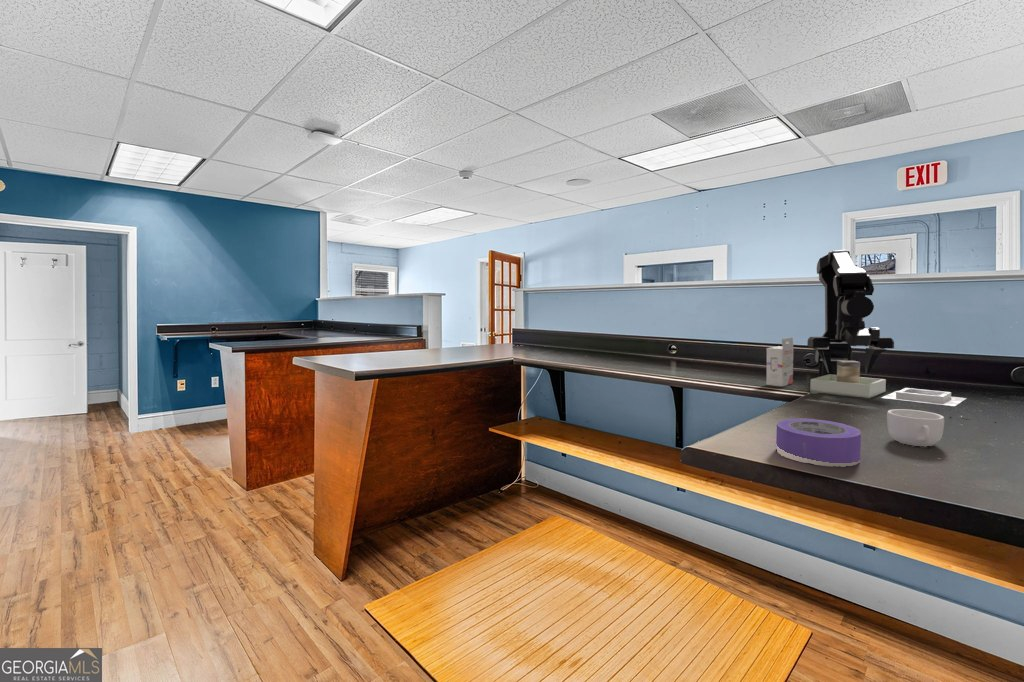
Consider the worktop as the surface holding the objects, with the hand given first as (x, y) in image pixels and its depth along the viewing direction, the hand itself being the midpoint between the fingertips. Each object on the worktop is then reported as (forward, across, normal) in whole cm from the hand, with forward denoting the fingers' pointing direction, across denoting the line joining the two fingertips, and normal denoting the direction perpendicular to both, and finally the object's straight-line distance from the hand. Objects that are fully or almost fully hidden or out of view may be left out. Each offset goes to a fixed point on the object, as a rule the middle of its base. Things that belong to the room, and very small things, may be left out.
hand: (848, 373), depth 128 cm
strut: (+5, 0, 0) cm, 5 cm away
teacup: (+6, -7, -52) cm, 52 cm away
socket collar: (+6, +14, -6) cm, 17 cm away
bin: (+6, 0, 0) cm, 6 cm away
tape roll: (+6, -25, -62) cm, 67 cm away
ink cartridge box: (+6, -14, +13) cm, 20 cm away
